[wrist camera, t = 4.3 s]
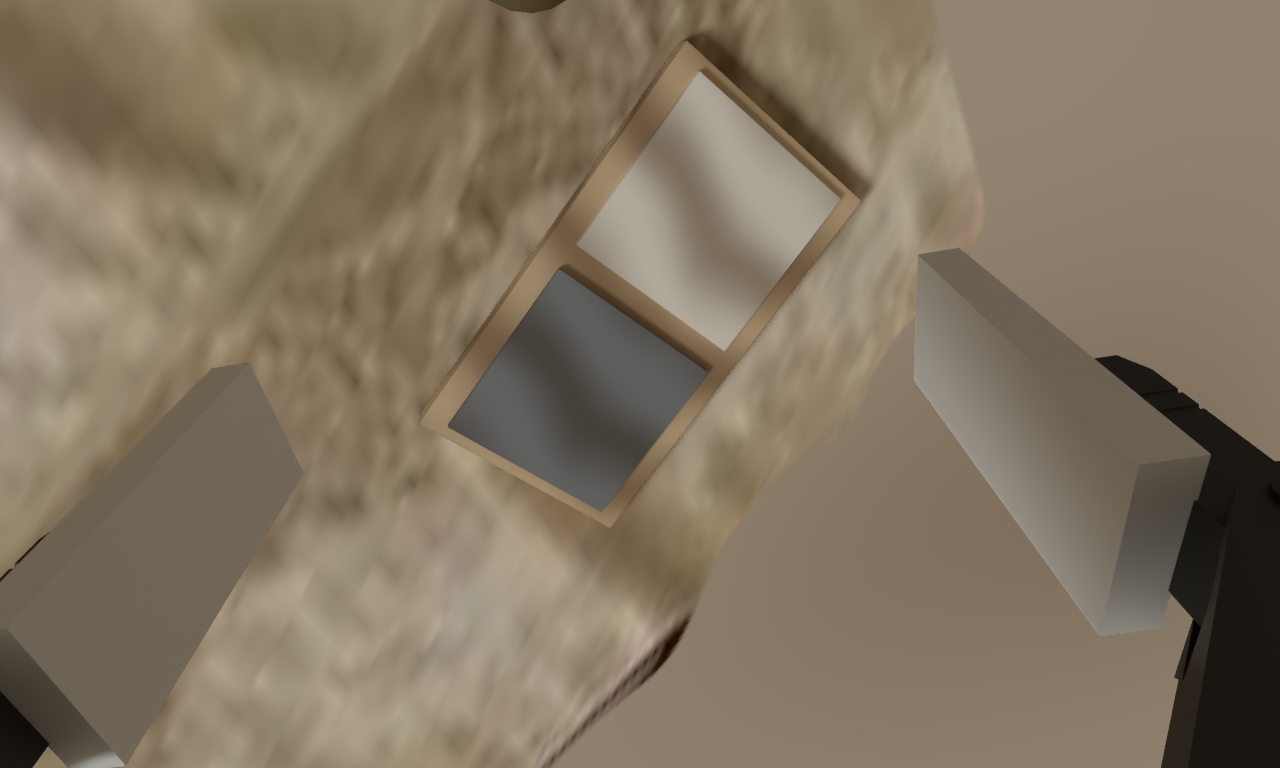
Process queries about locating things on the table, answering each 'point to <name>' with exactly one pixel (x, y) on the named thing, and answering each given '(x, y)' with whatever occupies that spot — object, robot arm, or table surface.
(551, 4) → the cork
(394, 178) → the table surface
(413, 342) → the table surface
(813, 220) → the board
